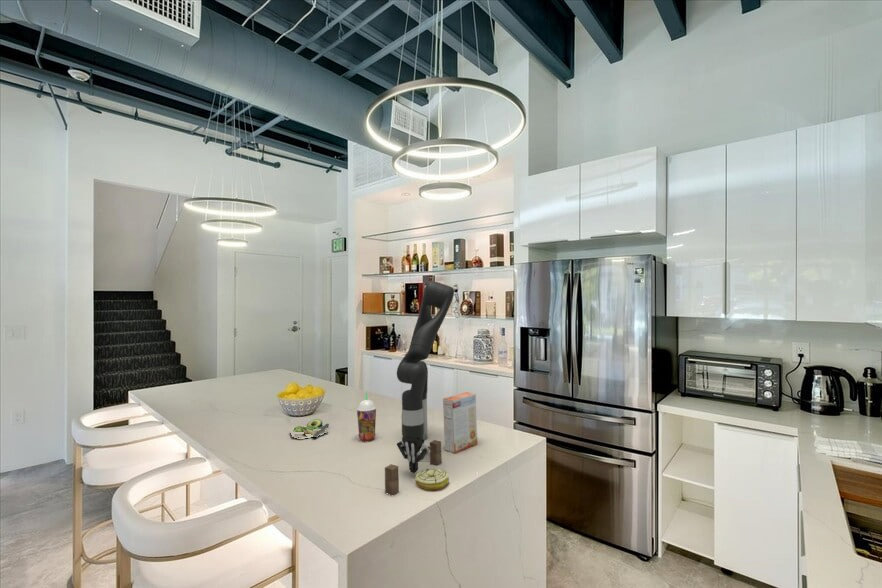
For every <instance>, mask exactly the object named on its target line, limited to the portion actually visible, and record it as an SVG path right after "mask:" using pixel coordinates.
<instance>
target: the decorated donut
mask: <svg viewBox="0 0 882 588" xmlns="http://www.w3.org/2000/svg"><path fill="white" fill-rule="evenodd" d="M449 476H450V475H449V473H448V472H447V471H446V470H444V469H441V468H440V469H439V468H426V469H423V470H421V471H419V472H418V473H416V475H415V477H414V479H415V480H414V481H415V484H416V485H417V486H418V487H419V488H421V489H424V490H427V491H437V490H441V489H442V488H445V487H446V486H447V484H448V483H449V478H450V477H449Z"/></svg>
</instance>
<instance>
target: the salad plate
mask: <svg viewBox="0 0 882 588" xmlns="http://www.w3.org/2000/svg"><path fill="white" fill-rule="evenodd" d="M329 425H330V423H326V424H325V423H323V421H322V420H321V419H319V418H317V419H316V418H315V419H312V420H310V421H309V422H307V424H306V426H307V427H304V426H305V425H298V426H294V427H295V428H294V427H293V428H294V430H293V432H304V434H311V435H313V437H317V436H318V435H321V434H324V433H326V434H327V433H329V428H328V427H329ZM302 426H303V427H302ZM319 429H321V430H319ZM325 430H326V431H325ZM324 435H325V434H324ZM296 436H297V435H295V436H293V437H296ZM293 437H292V438H293ZM317 438H318V437H317Z"/></svg>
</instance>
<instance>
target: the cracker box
mask: <svg viewBox="0 0 882 588" xmlns="http://www.w3.org/2000/svg"><path fill="white" fill-rule="evenodd" d="M476 395H477V394H476V393H471V392H465V391H464V392H462V393H459V394H458V393H457V394H455V395H451V396H447V397H444V398H443V399H442V402H443V403H442V405H443V406H442V408H443V409H442V410H443V435H444V451H446V452H448V453H451V454H457V453H459V452H462V451H465V450H466V449H468V448H471V447H474V446H476V445H478V426H477V425H478V424H477V398H476Z"/></svg>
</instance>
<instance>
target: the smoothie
mask: <svg viewBox="0 0 882 588" xmlns="http://www.w3.org/2000/svg"><path fill="white" fill-rule="evenodd" d="M356 415H357V425H358V426H357V427H358V437H359V440H360V441H361V440H362V441H361V442H363V441H369V442H372V441H374V440H375V437H376V421H377V420H376V419H377V418H376V417H377V406H376V404H375V403H374V402H373V401H372V400H371V399H368V393H367V392H366V393H365V399H363V400H362V401H361V402H359V403H358V406H357V407H356ZM371 440H372V441H371Z"/></svg>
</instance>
